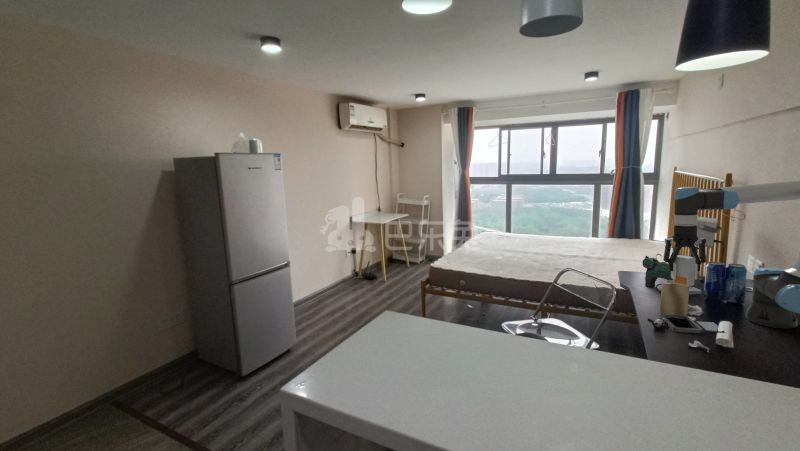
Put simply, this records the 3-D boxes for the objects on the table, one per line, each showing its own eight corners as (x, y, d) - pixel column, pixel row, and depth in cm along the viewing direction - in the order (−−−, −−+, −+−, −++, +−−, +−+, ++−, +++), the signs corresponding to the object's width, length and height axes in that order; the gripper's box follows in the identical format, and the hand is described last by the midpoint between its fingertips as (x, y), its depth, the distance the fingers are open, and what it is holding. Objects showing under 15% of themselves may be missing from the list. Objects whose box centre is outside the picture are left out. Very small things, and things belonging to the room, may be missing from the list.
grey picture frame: (687, 319, 157) (687, 315, 156) (703, 333, 143) (703, 329, 142) (660, 317, 160) (660, 314, 160) (673, 331, 146) (673, 328, 146)
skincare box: (672, 283, 151) (673, 256, 149) (679, 281, 152) (680, 254, 150) (687, 287, 145) (688, 258, 143) (695, 285, 146) (696, 257, 145)
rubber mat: (713, 323, 151) (713, 322, 151) (724, 332, 142) (724, 331, 142) (696, 322, 153) (696, 321, 153) (706, 331, 144) (706, 330, 144)
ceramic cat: (640, 285, 203) (641, 252, 201) (649, 284, 205) (650, 250, 203) (676, 295, 185) (678, 258, 182) (685, 293, 186) (686, 257, 184)
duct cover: (687, 315, 156) (686, 314, 157) (689, 284, 153) (688, 283, 154) (660, 314, 160) (659, 313, 160) (662, 283, 157) (661, 282, 157)
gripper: (710, 222, 145) (708, 276, 148) (654, 224, 152) (653, 275, 155) (719, 225, 138) (717, 281, 141) (660, 226, 145) (659, 280, 148)
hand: (683, 278), depth 148 cm, fingers closed on skincare box, 7 cm apart
